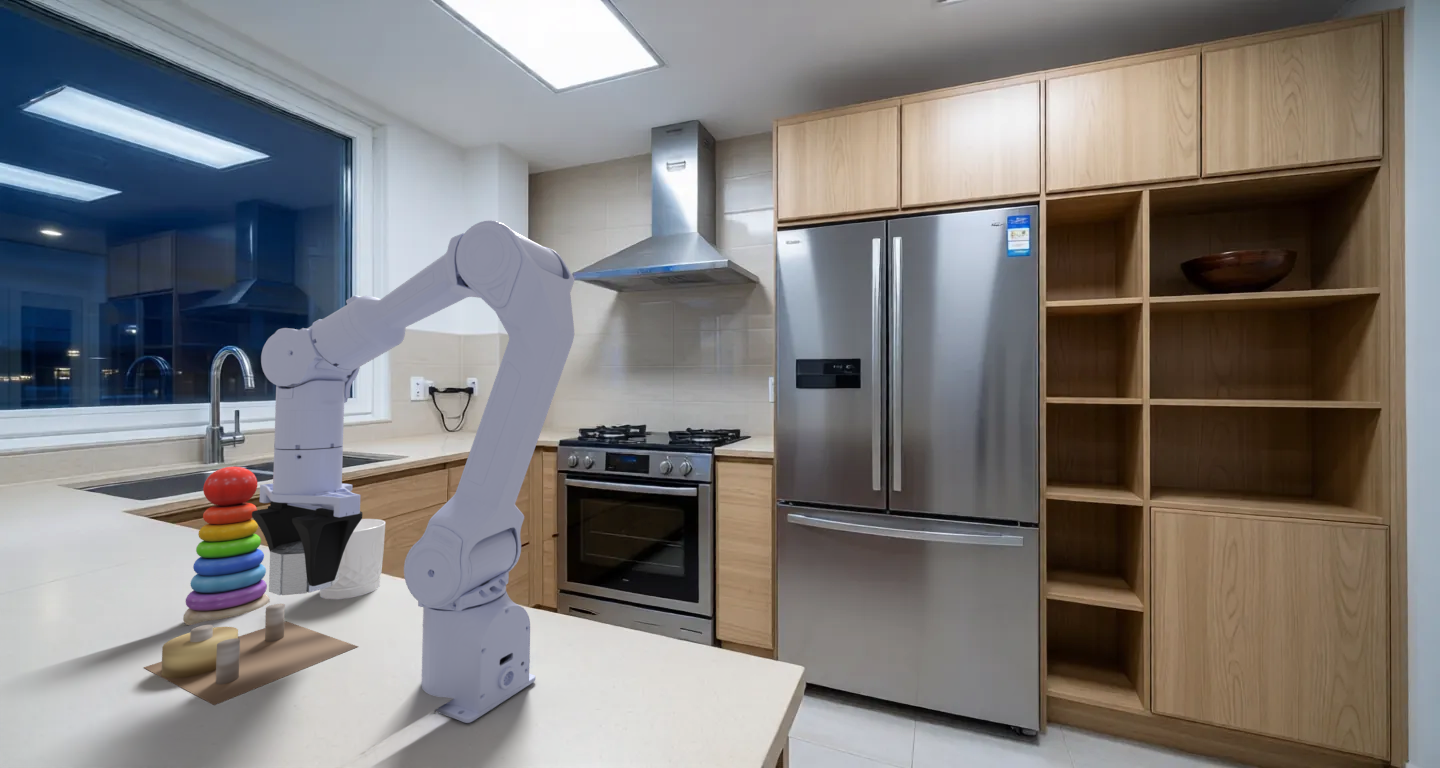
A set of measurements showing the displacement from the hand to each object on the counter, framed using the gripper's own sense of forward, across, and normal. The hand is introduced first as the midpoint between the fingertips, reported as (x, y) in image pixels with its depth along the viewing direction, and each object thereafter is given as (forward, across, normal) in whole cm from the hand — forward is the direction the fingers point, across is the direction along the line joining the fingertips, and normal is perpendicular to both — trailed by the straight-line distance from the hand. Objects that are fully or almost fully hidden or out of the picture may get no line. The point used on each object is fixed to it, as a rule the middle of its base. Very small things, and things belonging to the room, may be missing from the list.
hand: (305, 578), depth 56 cm
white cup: (+9, +14, -13) cm, 22 cm away
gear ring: (+1, 0, 0) cm, 1 cm away
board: (+9, +4, +2) cm, 10 cm away
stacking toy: (+9, +22, -2) cm, 24 cm away
